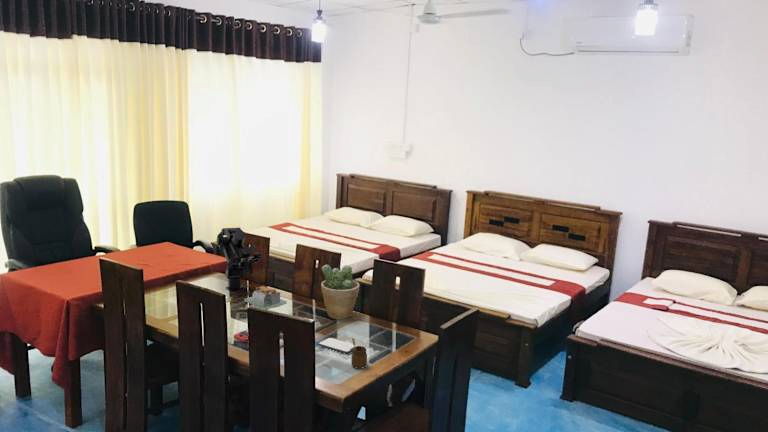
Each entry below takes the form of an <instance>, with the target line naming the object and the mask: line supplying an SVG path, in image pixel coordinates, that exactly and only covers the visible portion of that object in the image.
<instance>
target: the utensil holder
mask: <svg viewBox="0 0 768 432" xmlns="http://www.w3.org/2000/svg"><path fill="white" fill-rule="evenodd" d="M351 340H352V344H353V345H354V348H353V352H352V353H351V366H352V365H353V366H354V367H357V368H356V369H359V368H360V369H363V368H362V367H364V368H366V367H367V365H368V353H367V343H368V340H366V337H363V339H361V341H360V344H365V345H358V346H356V347H355V345H357V344H356V341H355V338H354V337H351ZM353 366H352V367H353ZM365 366H366V367H365ZM354 367H353V368H354Z"/></svg>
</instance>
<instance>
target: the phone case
mask: <svg viewBox="0 0 768 432" xmlns="http://www.w3.org/2000/svg"><path fill="white" fill-rule="evenodd" d="M318 345H320V346H322V347H321V348H323V347H325V348H324V349H326V348H328V349H327V350H329V349H331V350H330V351H332V350H334V351H333V352H335V351H337V352H336V353H339V352H341V353H340V354H342V353H345V354H349V353H351V352H352V353H353V348H354V345H353V343H352V342H348V341H345V340H341V339H337V338H334V337H327V338H325V339H323V340H321V341H319V342H318V343H317V346H318ZM320 346H319V347H320ZM356 346H359V345H357V344H356V345H355V347H356ZM352 353H351V354H352ZM345 354H344V355H345ZM349 355H350V354H349Z"/></svg>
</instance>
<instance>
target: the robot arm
mask: <svg viewBox="0 0 768 432" xmlns="http://www.w3.org/2000/svg"><path fill="white" fill-rule="evenodd" d="M246 236H247V235H246V232H245V231H243V230H242V229H241V227H223V228H221V231H220V232H219V233H218V234H217V236H216V237H217V238H216V245H217V246H218V248H219V250H220V251H223V254H224V256H225V259H226V263H227V265H226V266H227V267H226V270H225V278H226V279H227V280H228V286H226V287H225V289H227V288H228V290H230V289H231V290H230V291H232V290H234V291H237V289H238V290H241V288H242V289H243V288H244V287H243V286H241V282H242V281H241V278H244V276H245V275H244V274H245V272H247V273H248V274H249V275H253V274H254V266H253V264H255V263H258V262H259V261H260V260H261V259H262V257H263V255H262V253H261V252H256V251H257V246H256V245H255V244H250V246H249V247H248V246H244V242H245V240H246Z"/></svg>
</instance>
